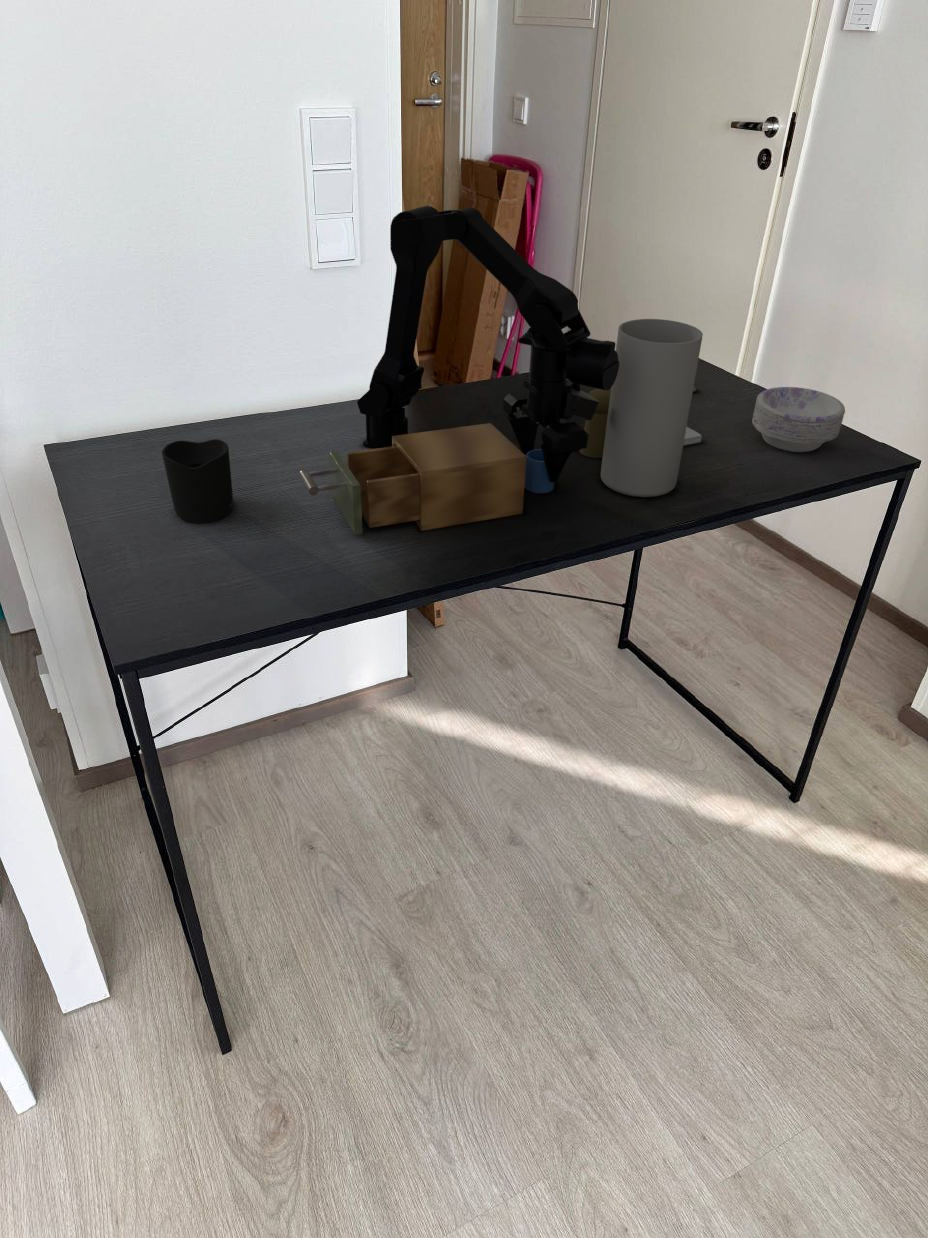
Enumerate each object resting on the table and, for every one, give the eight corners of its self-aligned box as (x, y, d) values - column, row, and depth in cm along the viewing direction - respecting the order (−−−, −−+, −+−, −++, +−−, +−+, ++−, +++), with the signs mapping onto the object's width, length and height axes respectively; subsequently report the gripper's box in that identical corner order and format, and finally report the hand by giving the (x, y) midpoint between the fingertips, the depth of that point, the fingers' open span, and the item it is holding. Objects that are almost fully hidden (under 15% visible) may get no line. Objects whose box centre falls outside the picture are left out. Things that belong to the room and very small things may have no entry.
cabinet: (421, 531, 134) (421, 471, 128) (393, 492, 144) (391, 435, 138) (522, 513, 139) (526, 456, 133) (488, 477, 149) (490, 422, 144)
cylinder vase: (592, 490, 146) (610, 336, 132) (609, 461, 156) (627, 314, 142) (669, 504, 143) (696, 348, 129) (681, 473, 152) (707, 324, 138)
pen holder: (204, 531, 132) (194, 468, 126) (159, 514, 136) (147, 452, 130) (249, 506, 138) (241, 446, 133) (205, 491, 142) (196, 431, 137)
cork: (611, 459, 156) (619, 398, 150) (577, 456, 157) (583, 395, 151) (614, 446, 161) (621, 386, 155) (580, 442, 162) (586, 383, 156)
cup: (520, 490, 146) (523, 459, 142) (528, 478, 149) (530, 447, 146) (550, 495, 144) (553, 463, 141) (557, 482, 148) (560, 451, 145)
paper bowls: (786, 465, 156) (797, 421, 152) (731, 432, 168) (739, 391, 163) (852, 452, 162) (865, 410, 157) (795, 421, 173) (805, 381, 169)
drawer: (317, 541, 128) (313, 491, 124) (297, 503, 138) (293, 456, 133) (454, 518, 135) (455, 470, 131) (425, 483, 145) (426, 438, 140)
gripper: (625, 390, 132) (612, 487, 141) (566, 352, 146) (558, 441, 155) (557, 399, 128) (548, 497, 137) (504, 358, 143) (499, 450, 151)
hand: (540, 470), depth 145 cm, fingers open, 9 cm apart
